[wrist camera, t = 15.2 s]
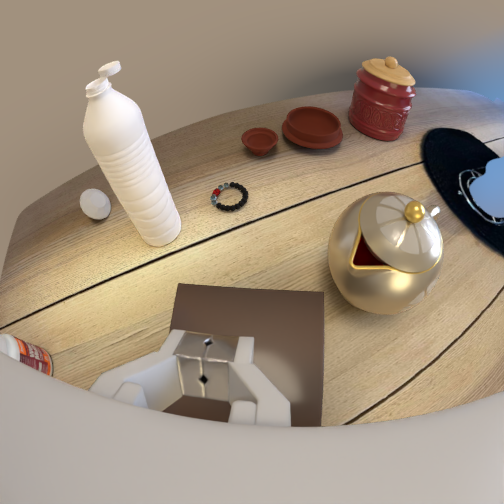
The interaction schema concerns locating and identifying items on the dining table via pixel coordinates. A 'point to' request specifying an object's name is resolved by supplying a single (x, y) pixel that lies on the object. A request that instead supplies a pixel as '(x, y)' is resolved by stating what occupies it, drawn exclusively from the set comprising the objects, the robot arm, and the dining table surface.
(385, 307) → the teapot
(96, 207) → the gemstone
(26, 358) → the pill bottle
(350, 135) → the dining table surface
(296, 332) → the lid
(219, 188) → the bracelet
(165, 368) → the robot arm
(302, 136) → the pottery
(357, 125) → the kitchen canister
